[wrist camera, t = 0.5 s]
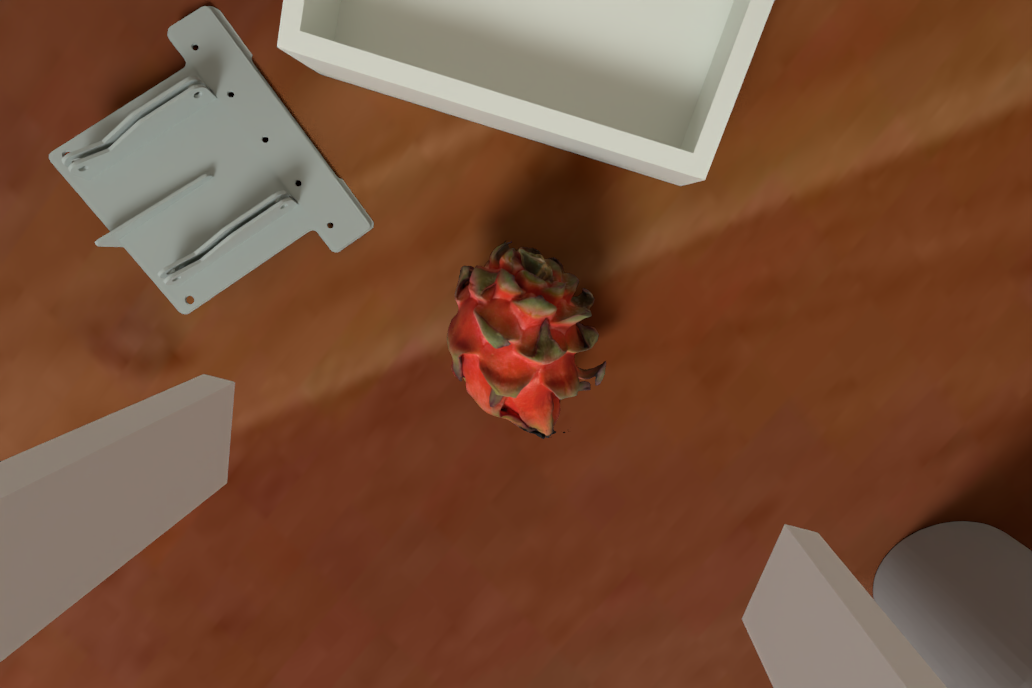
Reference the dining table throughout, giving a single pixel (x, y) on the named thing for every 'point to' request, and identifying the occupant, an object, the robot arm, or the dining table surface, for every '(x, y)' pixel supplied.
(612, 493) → the dining table surface
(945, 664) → the coffee mug
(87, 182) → the metal bracket
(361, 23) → the tray
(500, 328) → the dragon fruit
